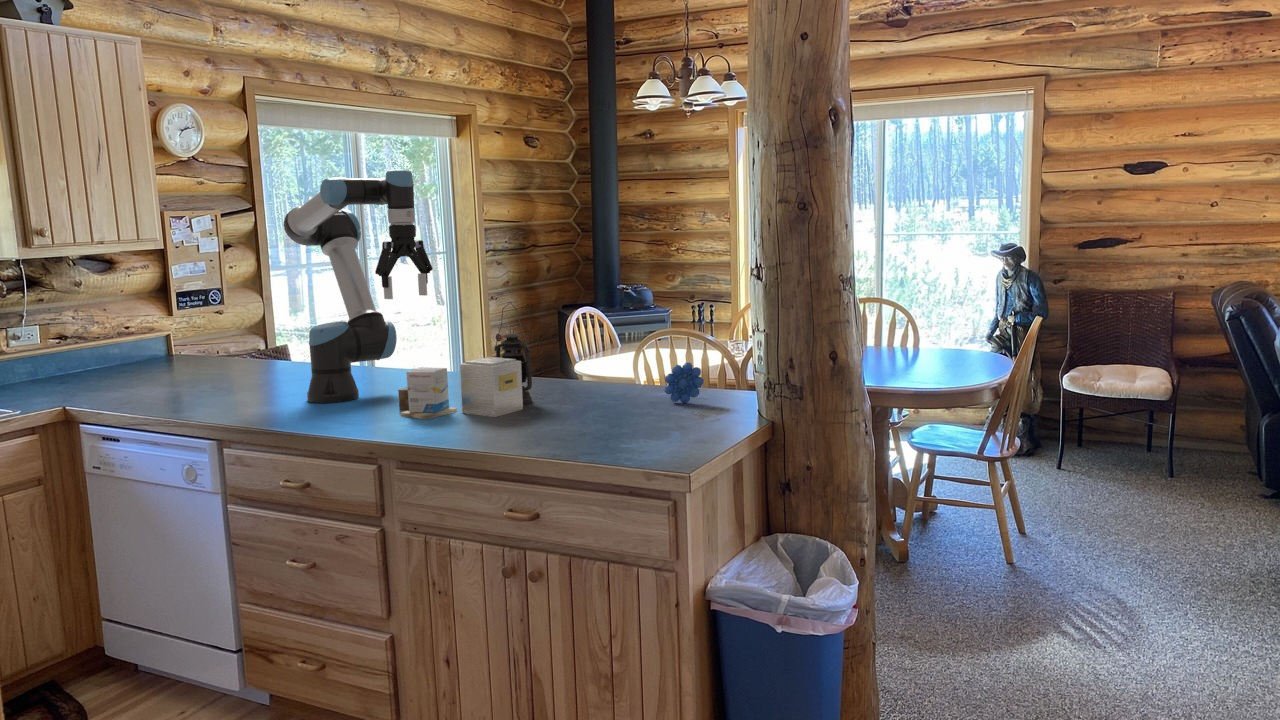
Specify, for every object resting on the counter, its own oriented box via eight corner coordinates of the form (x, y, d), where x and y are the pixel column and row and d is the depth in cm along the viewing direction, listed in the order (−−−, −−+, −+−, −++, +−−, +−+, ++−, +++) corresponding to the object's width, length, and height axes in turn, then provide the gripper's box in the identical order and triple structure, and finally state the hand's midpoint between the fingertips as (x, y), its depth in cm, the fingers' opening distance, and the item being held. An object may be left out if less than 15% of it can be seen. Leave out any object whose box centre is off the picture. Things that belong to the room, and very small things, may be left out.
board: (400, 416, 266) (400, 412, 266) (431, 408, 276) (431, 405, 276) (426, 419, 261) (426, 415, 261) (457, 411, 271) (457, 408, 271)
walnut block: (399, 410, 275) (398, 389, 274) (408, 407, 280) (407, 386, 279) (414, 411, 273) (413, 390, 273) (423, 407, 278) (422, 387, 277)
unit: (462, 413, 268) (460, 361, 266) (491, 405, 278) (488, 356, 276) (496, 417, 262) (493, 364, 260) (524, 409, 272) (522, 358, 270)
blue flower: (707, 401, 278) (706, 360, 277) (702, 405, 272) (701, 364, 270) (668, 399, 282) (667, 359, 280) (662, 404, 275) (661, 363, 274)
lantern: (541, 400, 285) (538, 300, 280) (523, 407, 275) (518, 303, 271) (506, 398, 290) (502, 299, 286) (486, 404, 280) (482, 302, 276)
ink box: (450, 407, 272) (448, 367, 270) (436, 413, 264) (434, 371, 262) (422, 406, 274) (420, 366, 272) (408, 412, 266) (405, 371, 264)
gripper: (377, 224, 265) (382, 301, 268) (442, 223, 285) (445, 294, 288) (359, 225, 269) (364, 300, 272) (424, 223, 289) (427, 293, 292)
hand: (406, 297), depth 280 cm, fingers open, 13 cm apart
